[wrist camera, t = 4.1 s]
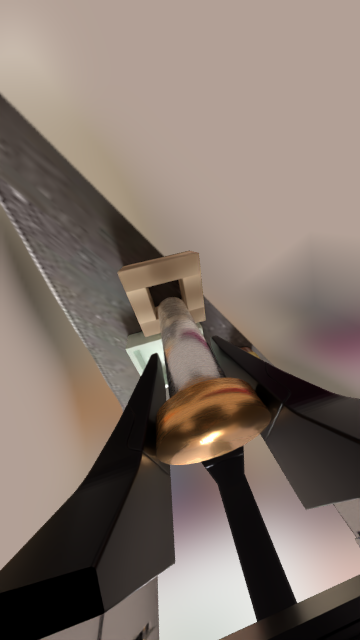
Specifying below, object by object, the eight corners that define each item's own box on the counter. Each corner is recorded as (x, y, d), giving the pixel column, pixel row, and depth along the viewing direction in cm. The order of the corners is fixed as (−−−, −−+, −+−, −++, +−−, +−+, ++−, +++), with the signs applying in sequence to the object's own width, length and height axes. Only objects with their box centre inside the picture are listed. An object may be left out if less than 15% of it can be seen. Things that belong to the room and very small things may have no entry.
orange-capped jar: (194, 321, 16) (262, 440, 6) (157, 331, 15) (172, 472, 6) (188, 285, 13) (283, 390, 4) (145, 296, 13) (137, 438, 4)
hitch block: (197, 308, 23) (205, 320, 19) (145, 322, 22) (145, 337, 19) (189, 250, 18) (198, 252, 15) (123, 266, 17) (117, 272, 14)
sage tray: (202, 361, 30) (208, 374, 27) (150, 377, 29) (150, 392, 26) (195, 316, 24) (202, 327, 21) (128, 335, 23) (125, 349, 20)
